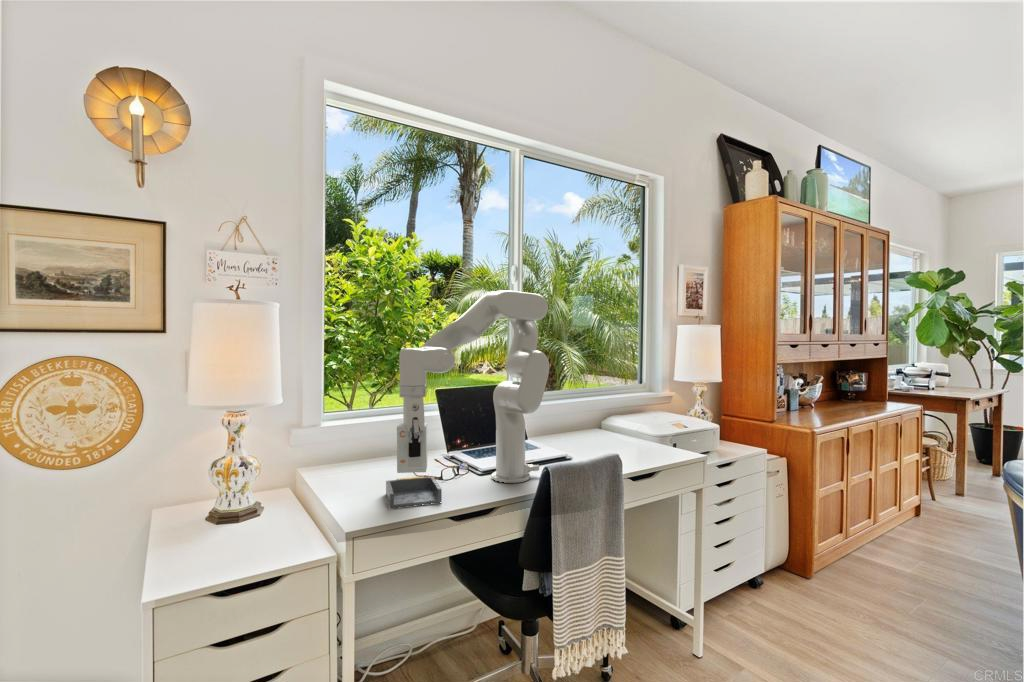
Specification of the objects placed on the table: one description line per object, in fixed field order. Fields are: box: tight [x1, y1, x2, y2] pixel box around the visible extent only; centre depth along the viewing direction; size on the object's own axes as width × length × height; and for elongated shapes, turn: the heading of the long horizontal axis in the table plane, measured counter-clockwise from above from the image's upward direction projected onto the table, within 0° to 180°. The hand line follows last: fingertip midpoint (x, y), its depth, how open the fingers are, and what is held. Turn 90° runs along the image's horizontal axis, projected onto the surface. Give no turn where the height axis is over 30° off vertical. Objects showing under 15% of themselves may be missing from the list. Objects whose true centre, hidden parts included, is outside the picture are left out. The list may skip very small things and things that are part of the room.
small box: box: [396, 422, 428, 474], centre depth 145 cm, size 8×6×13 cm
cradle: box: [385, 475, 443, 509], centre depth 145 cm, size 14×13×4 cm
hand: (412, 453), depth 145 cm, fingers closed on small box, 7 cm apart
